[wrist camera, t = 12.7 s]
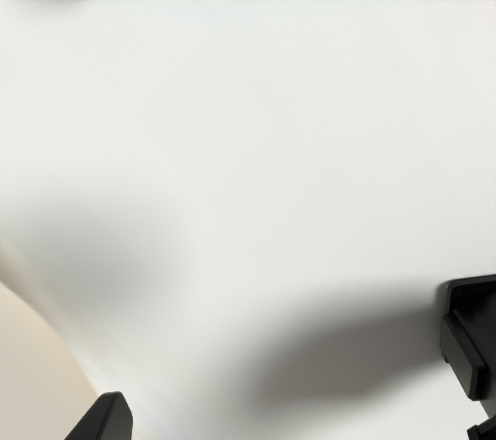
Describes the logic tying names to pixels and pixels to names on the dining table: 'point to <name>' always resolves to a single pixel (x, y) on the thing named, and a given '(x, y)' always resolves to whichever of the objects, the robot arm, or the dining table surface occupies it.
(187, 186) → the dining table surface
